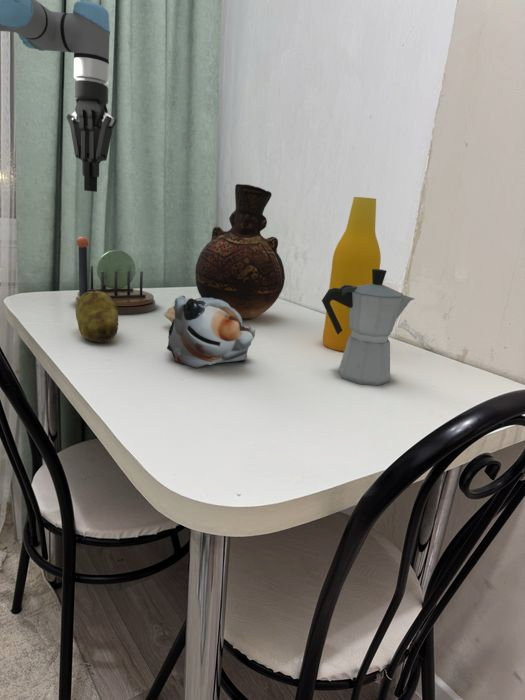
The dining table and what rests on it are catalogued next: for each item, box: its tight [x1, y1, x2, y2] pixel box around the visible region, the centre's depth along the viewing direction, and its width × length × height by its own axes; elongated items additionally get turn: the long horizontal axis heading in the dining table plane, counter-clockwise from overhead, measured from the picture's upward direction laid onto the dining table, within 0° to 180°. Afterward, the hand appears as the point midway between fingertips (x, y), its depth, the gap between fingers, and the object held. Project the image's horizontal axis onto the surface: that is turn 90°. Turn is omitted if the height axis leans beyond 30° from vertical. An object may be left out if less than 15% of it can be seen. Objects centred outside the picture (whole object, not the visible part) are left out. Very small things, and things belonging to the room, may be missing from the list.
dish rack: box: [76, 236, 155, 306], centre depth 117 cm, size 18×17×14 cm
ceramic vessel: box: [194, 183, 286, 319], centre depth 116 cm, size 21×18×30 cm
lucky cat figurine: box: [166, 294, 256, 369], centre depth 83 cm, size 15×12×14 cm
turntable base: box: [75, 296, 156, 316], centre depth 120 cm, size 18×18×2 cm
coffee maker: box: [321, 268, 415, 386], centre depth 82 cm, size 15×9×18 cm, turn 92°
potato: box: [75, 291, 119, 344], centre depth 93 cm, size 8×13×8 cm, turn 9°
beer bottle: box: [322, 196, 382, 353], centre depth 98 cm, size 9×9×29 cm
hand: (90, 191), depth 122 cm, fingers closed
